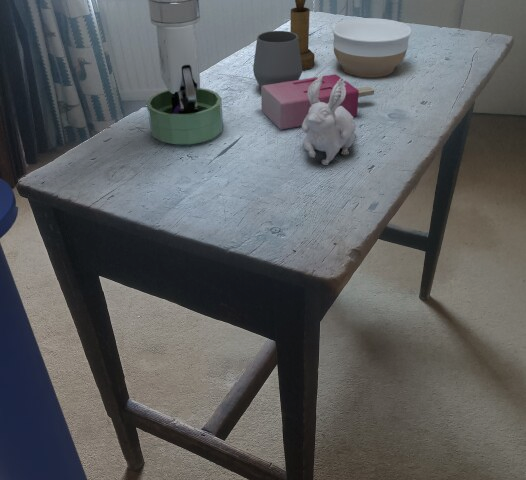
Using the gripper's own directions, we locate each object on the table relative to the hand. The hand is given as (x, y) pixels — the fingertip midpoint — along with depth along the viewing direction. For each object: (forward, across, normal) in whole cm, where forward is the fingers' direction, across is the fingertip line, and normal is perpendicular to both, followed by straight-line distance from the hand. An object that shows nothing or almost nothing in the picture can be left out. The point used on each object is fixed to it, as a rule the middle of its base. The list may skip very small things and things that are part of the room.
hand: (186, 124), depth 100 cm
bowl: (+2, -18, +43) cm, 47 cm away
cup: (+2, -13, +21) cm, 25 cm away
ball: (-1, 0, 0) cm, 1 cm away
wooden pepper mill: (+2, -25, +30) cm, 39 cm away
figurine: (+2, +15, +20) cm, 25 cm away
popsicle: (+2, 0, +25) cm, 25 cm away
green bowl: (+1, 0, 0) cm, 1 cm away
